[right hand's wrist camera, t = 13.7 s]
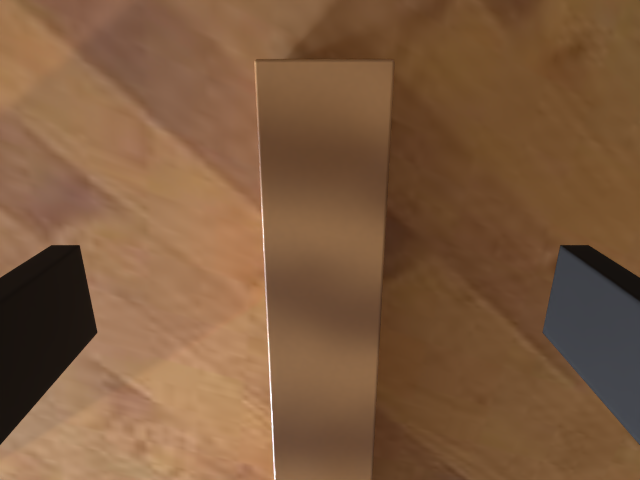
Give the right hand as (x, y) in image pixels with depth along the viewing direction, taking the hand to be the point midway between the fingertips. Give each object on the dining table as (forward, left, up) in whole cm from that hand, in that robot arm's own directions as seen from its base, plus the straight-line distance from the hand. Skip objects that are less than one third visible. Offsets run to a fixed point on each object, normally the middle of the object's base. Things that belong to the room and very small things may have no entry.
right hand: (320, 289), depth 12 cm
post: (-11, -20, -13) cm, 26 cm away
